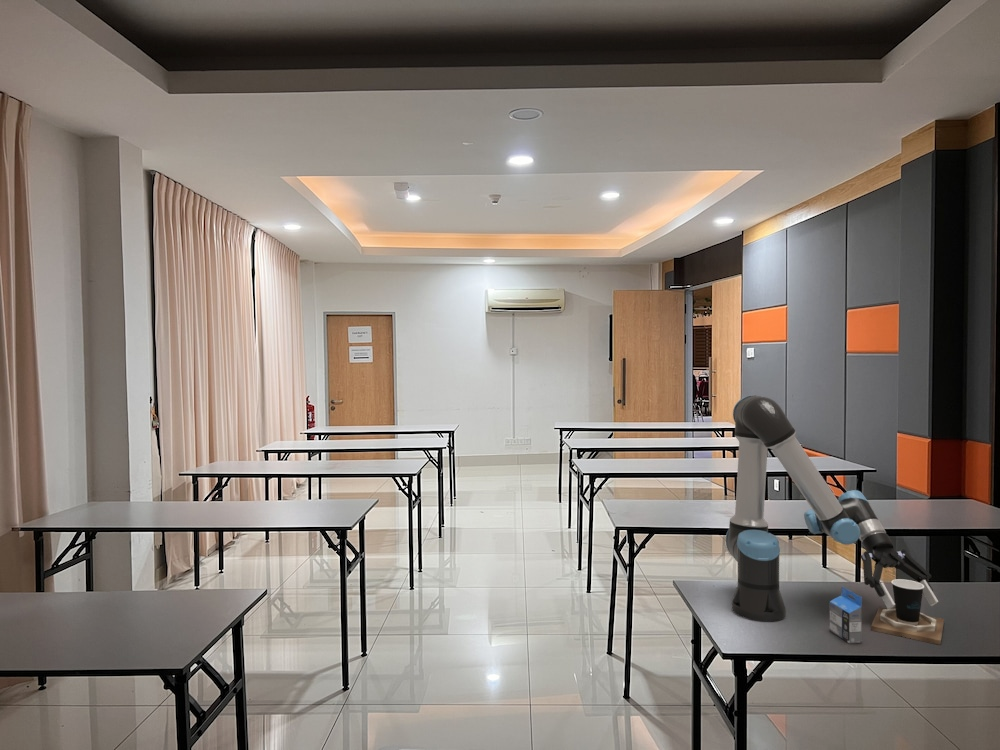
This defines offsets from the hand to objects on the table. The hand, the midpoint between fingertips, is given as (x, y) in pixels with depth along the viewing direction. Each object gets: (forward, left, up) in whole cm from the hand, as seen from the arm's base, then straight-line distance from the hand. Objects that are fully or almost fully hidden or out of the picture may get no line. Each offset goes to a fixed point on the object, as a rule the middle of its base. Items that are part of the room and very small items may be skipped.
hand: (913, 605), depth 179 cm
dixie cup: (-1, +1, -6) cm, 6 cm away
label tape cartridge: (-14, -17, -7) cm, 23 cm away
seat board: (-1, +1, -7) cm, 7 cm away
